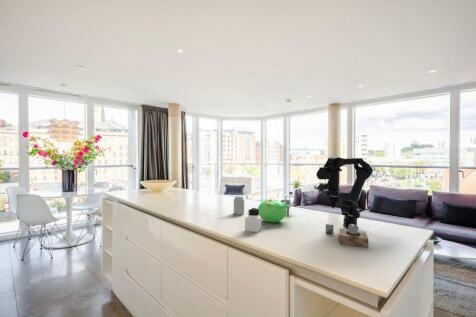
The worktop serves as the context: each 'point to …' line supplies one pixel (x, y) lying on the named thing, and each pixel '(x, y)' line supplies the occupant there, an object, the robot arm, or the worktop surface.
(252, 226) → the medicine bottle
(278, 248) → the worktop surface
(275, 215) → the green rounded lump
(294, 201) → the mechanical component
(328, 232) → the short pin
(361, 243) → the hole block
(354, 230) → the tall pin
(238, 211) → the can
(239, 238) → the worktop surface
